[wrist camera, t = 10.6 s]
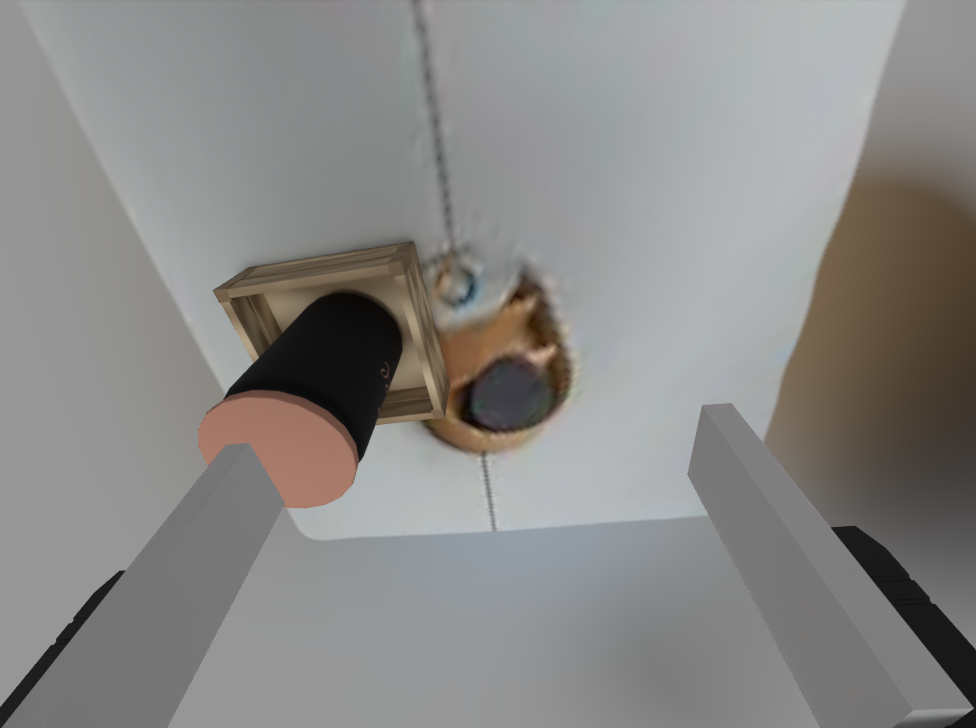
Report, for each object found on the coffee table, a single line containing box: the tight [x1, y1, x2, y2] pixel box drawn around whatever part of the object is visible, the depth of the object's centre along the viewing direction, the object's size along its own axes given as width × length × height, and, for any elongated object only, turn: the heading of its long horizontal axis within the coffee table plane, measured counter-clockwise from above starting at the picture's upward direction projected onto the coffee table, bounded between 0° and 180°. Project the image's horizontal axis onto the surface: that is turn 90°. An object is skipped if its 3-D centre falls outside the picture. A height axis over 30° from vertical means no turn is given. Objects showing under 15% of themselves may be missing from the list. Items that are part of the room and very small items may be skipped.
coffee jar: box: [198, 293, 403, 508], centre depth 35 cm, size 11×11×18 cm
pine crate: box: [213, 241, 450, 425], centre depth 41 cm, size 17×17×6 cm
